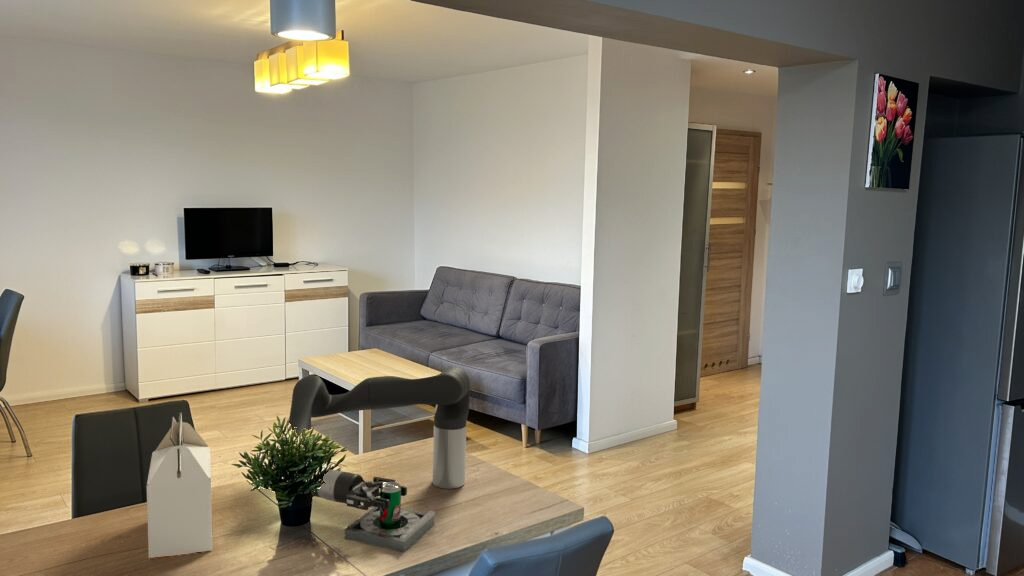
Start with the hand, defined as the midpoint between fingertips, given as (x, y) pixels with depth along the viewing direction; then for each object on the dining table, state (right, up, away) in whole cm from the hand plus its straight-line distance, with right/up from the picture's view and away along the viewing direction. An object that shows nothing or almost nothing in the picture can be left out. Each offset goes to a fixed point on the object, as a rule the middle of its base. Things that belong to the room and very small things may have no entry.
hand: (398, 497), depth 191 cm
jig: (-2, -9, +2) cm, 9 cm away
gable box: (-51, -8, -4) cm, 52 cm away
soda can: (-2, -9, +2) cm, 9 cm away
